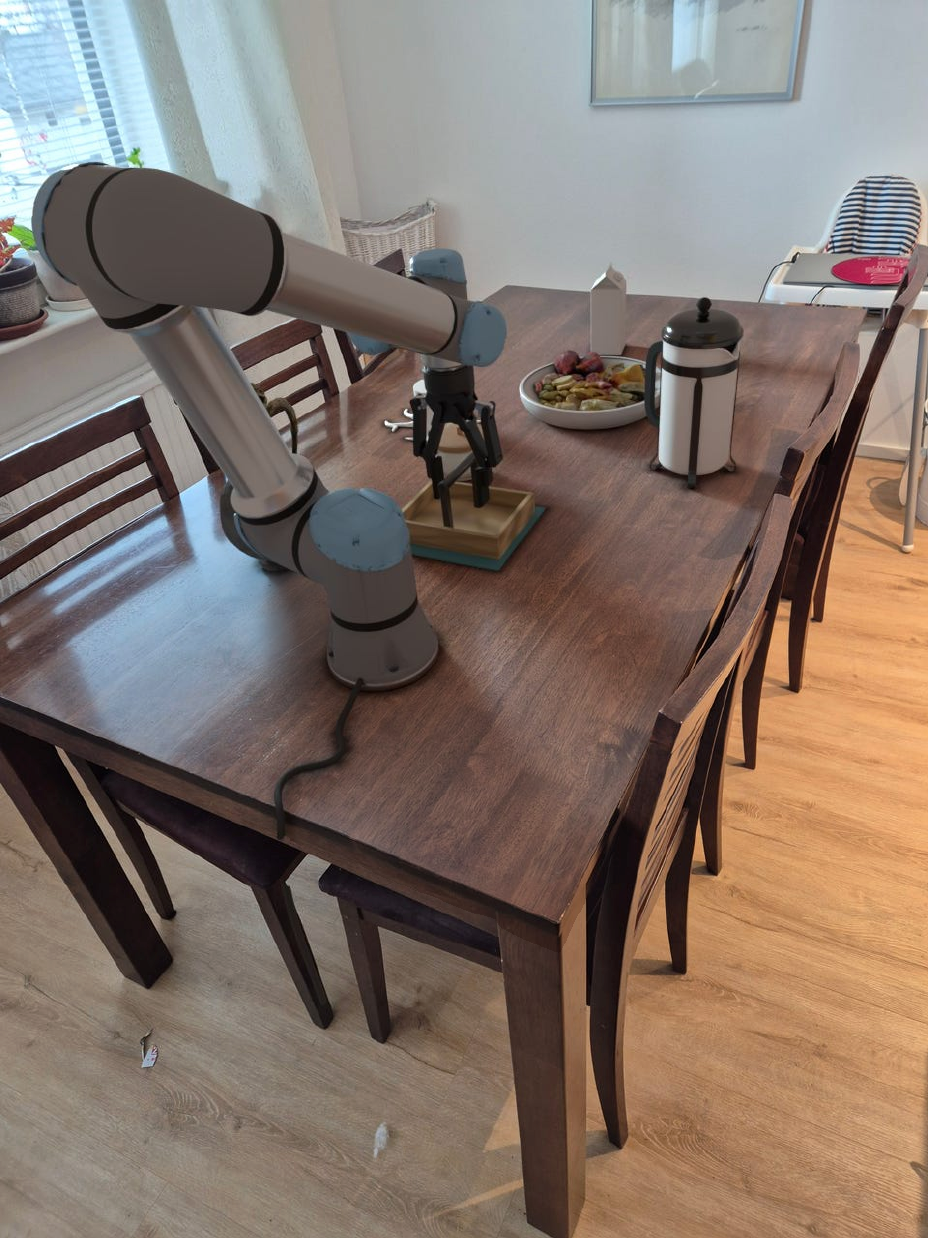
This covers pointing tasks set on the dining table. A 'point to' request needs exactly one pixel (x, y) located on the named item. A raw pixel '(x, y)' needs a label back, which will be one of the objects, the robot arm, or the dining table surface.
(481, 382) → the dining table surface
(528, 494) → the tray
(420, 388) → the tree stump
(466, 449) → the white jar with lid
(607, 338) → the milk carton
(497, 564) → the mat
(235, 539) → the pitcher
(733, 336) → the coffee press
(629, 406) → the bowl
